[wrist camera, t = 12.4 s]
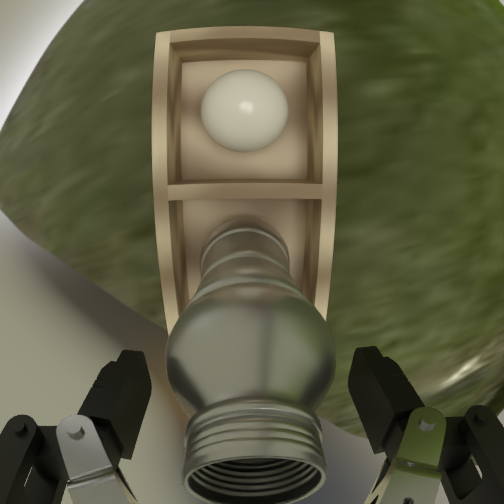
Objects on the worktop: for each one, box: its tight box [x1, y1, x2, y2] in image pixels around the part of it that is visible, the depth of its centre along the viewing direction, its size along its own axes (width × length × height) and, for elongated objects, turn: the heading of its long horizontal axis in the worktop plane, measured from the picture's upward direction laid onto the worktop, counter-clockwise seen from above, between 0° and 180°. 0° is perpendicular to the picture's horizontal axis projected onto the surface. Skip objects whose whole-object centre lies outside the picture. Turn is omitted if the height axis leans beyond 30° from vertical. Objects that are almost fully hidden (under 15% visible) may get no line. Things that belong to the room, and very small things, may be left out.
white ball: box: [200, 69, 289, 153], centre depth 19 cm, size 6×6×6 cm
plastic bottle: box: [165, 218, 336, 504], centre depth 15 cm, size 6×7×20 cm
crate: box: [152, 26, 338, 335], centre depth 21 cm, size 23×12×6 cm, turn 0°
